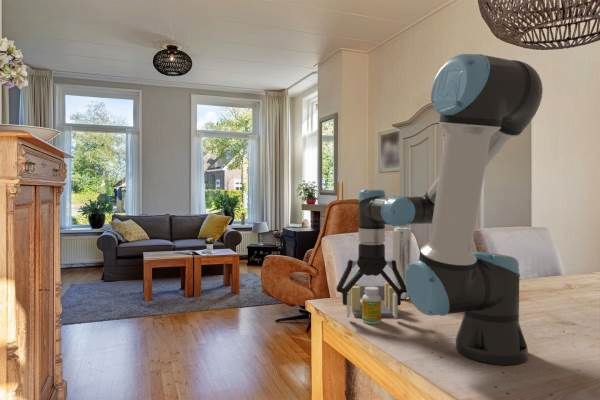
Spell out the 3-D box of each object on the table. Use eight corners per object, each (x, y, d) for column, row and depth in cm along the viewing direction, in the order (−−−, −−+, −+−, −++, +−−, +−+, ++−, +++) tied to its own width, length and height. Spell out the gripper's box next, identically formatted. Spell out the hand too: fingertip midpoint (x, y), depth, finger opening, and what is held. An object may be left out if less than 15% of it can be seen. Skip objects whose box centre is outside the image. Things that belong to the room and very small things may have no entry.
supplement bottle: (367, 325, 115) (367, 290, 115) (359, 319, 121) (359, 286, 120) (384, 323, 117) (384, 289, 117) (376, 318, 122) (376, 285, 122)
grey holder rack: (399, 317, 122) (399, 290, 122) (352, 317, 123) (352, 289, 123) (387, 300, 142) (387, 276, 142) (346, 300, 143) (346, 276, 143)
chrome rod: (409, 295, 149) (409, 226, 149) (412, 300, 143) (412, 228, 142) (391, 295, 150) (391, 226, 150) (393, 299, 143) (393, 228, 143)
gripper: (411, 241, 122) (411, 312, 122) (327, 241, 122) (327, 312, 123) (418, 244, 114) (418, 320, 115) (329, 244, 115) (329, 319, 115)
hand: (371, 316), depth 119 cm, fingers open, 13 cm apart
